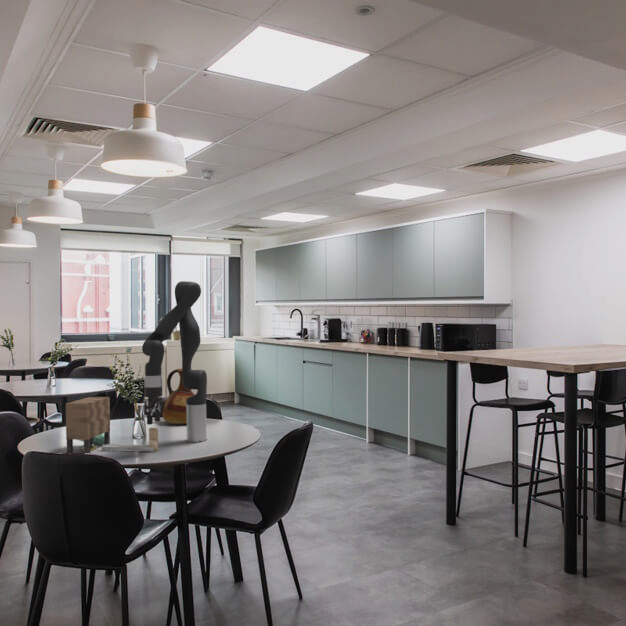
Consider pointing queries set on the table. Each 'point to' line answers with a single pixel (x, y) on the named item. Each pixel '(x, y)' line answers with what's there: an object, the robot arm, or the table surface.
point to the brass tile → (91, 448)
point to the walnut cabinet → (87, 421)
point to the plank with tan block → (124, 447)
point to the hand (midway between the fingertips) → (153, 422)
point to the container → (99, 439)
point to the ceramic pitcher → (176, 401)
